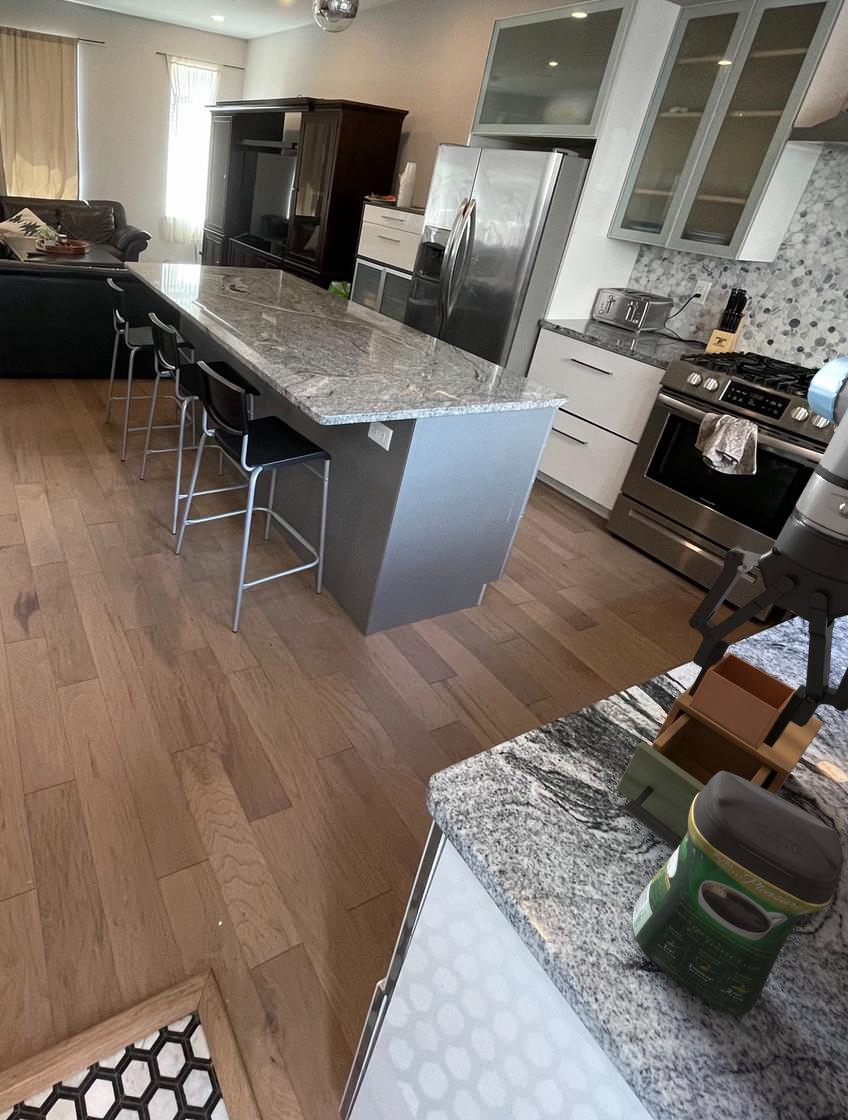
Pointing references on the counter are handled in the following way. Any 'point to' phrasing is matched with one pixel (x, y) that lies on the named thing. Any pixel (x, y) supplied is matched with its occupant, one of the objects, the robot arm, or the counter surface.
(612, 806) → the counter surface
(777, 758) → the cabinet
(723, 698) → the brown open box
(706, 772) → the drawer
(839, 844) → the coffee jar
